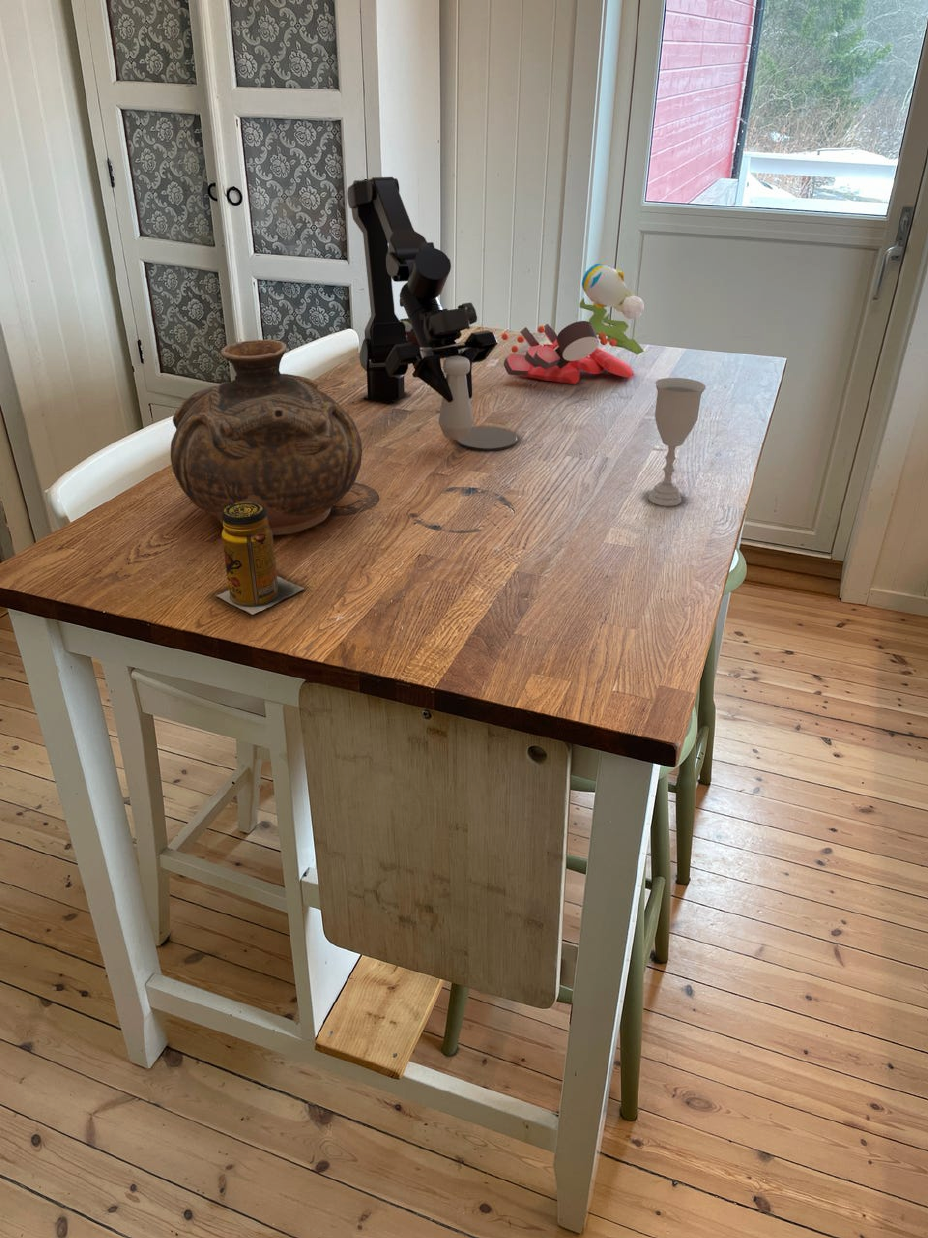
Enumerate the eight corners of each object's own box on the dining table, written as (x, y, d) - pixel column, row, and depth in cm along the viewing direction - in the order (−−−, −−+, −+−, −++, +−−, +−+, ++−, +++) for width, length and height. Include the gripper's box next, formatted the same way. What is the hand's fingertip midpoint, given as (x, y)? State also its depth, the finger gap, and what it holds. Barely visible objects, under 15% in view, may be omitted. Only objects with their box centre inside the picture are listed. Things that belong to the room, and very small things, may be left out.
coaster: (445, 444, 164) (445, 442, 164) (469, 425, 173) (469, 422, 173) (503, 454, 161) (503, 452, 160) (525, 434, 169) (525, 431, 169)
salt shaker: (474, 430, 159) (476, 353, 152) (471, 442, 154) (473, 363, 147) (440, 428, 159) (440, 351, 152) (436, 440, 154) (436, 361, 147)
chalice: (691, 493, 147) (708, 381, 138) (685, 511, 142) (703, 394, 133) (645, 487, 149) (658, 375, 140) (637, 503, 144) (651, 388, 135)
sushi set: (546, 412, 183) (465, 341, 192) (605, 433, 208) (531, 370, 217) (639, 284, 172) (549, 216, 181) (689, 323, 198) (608, 262, 207)
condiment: (215, 596, 118) (203, 509, 112) (268, 572, 124) (258, 488, 118) (252, 616, 114) (241, 527, 108) (305, 590, 120) (297, 504, 114)
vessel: (287, 573, 123) (257, 384, 111) (142, 533, 136) (101, 361, 124) (406, 500, 143) (392, 333, 130) (269, 471, 156) (244, 317, 143)
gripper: (391, 292, 143) (429, 383, 141) (493, 279, 151) (529, 365, 149) (369, 332, 152) (404, 418, 150) (466, 318, 161) (500, 399, 159)
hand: (460, 399), depth 152 cm, fingers closed on salt shaker, 3 cm apart
